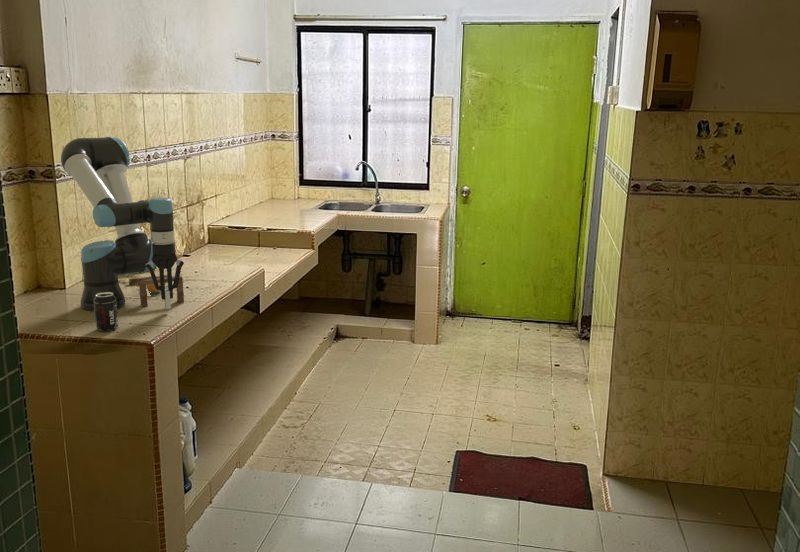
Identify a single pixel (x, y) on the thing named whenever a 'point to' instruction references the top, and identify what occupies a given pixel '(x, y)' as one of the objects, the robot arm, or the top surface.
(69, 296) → the top surface
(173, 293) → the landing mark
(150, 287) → the ball
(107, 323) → the beverage can
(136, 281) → the wall
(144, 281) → the bridge
